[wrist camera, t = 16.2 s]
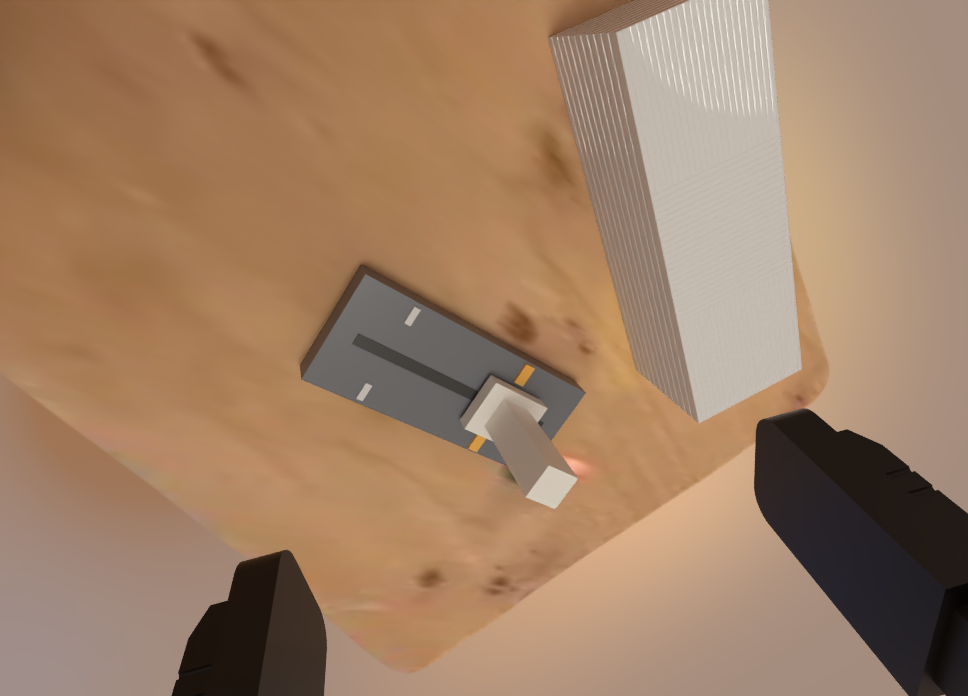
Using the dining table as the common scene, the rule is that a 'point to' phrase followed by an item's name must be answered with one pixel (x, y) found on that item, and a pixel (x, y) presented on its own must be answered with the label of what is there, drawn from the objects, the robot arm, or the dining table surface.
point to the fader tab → (520, 440)
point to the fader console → (424, 363)
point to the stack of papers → (688, 191)
